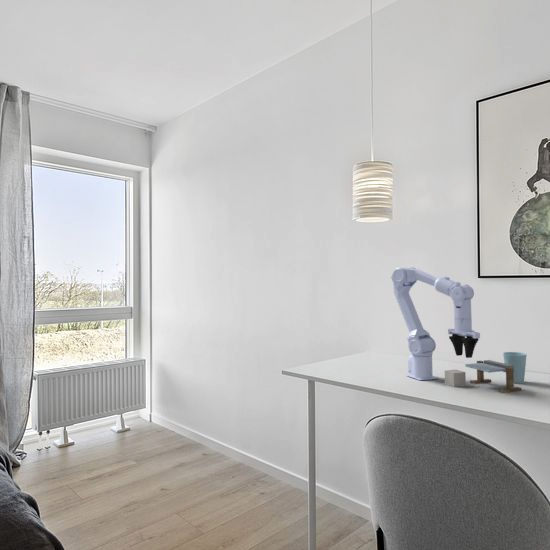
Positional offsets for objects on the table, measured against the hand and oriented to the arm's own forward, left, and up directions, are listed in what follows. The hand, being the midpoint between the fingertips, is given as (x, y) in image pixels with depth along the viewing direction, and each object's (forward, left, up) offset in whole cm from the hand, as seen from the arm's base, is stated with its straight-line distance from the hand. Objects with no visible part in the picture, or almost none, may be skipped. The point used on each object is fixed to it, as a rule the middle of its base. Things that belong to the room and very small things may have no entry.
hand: (464, 356), depth 163 cm
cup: (+2, +21, -11) cm, 24 cm away
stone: (-3, -2, -11) cm, 11 cm away
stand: (+5, +9, -11) cm, 15 cm away
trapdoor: (+5, +7, -5) cm, 9 cm away
